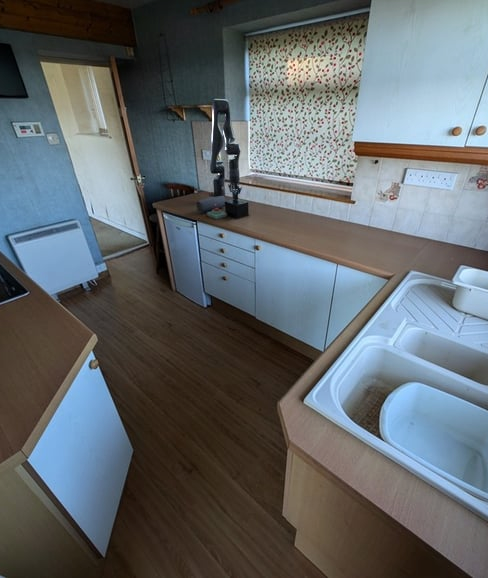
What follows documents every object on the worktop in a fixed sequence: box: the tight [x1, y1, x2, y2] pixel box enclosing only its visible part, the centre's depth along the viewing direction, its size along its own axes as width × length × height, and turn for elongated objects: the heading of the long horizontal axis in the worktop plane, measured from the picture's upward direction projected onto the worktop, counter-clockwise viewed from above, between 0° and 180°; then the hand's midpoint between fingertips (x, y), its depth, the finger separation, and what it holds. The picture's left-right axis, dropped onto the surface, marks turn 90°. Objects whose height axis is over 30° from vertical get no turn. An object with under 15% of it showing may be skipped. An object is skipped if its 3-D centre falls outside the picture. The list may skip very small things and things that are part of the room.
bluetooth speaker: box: [196, 196, 227, 213], centre depth 226 cm, size 23×9×10 cm, turn 132°
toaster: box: [224, 198, 250, 220], centre depth 216 cm, size 14×11×10 cm
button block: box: [206, 209, 228, 220], centre depth 216 cm, size 12×10×4 cm
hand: (235, 199), depth 217 cm, fingers closed on slider, 2 cm apart
